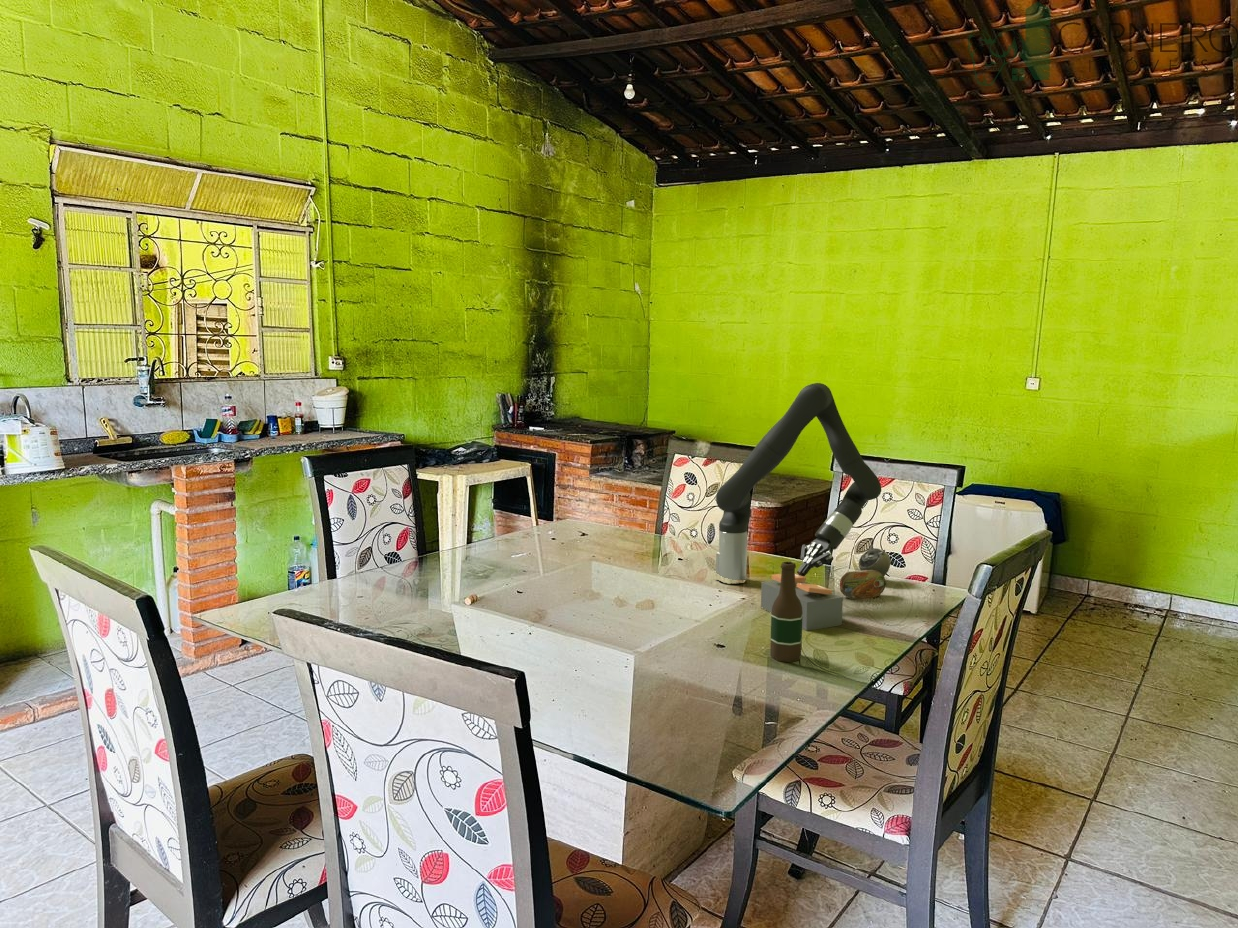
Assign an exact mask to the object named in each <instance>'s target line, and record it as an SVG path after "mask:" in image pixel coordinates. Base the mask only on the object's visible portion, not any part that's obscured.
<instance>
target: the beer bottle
mask: <svg viewBox="0 0 1238 928" xmlns="http://www.w3.org/2000/svg"><path fill="white" fill-rule="evenodd" d="M780 568H781V573H780V574H781V584H780V591H779V595H778V597H777V598H776V599H775V601H774V604H773V606H772V613H770V614H771V615H770V648H769V649H770V657H771V659H774V660H776V661H777V662H784V663H794V662H799V661H800V658H801V656H802V647H803V646H802V643H803V642H802V641H803V629H802V617H803V612H802V605H801V602H800V600H799V598H798V597H797V595H796V590H795V573H796V568H797V566H796V563H795V562H792V561H783V562H781V565H780Z"/></svg>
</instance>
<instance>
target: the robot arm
mask: <svg viewBox="0 0 1238 928" xmlns="http://www.w3.org/2000/svg"><path fill="white" fill-rule="evenodd" d="M835 401H836V400H835V399H834V396H833V393H832V390H831V389H830V387H829V386H828V385H826V384H824V383H821V382H815V383H811V384H808V385H805V386H804V387H803V388H802V389H800V391H799V392H798V394H797V396H796V397H795V398H794V401H793V402H792V404H791V405H790V406H789V408H788V409H787V411H786V412H785V414H783V416H782V417H781V418H780V419H779V420H778V421H777V422H776V423H775V424H774V425H773V426H772V427H771V428H770V429H769V430H768V431H767V432H766V434H765V435H764V436H763V437H762V438H761V440H760V441H759V442H758V443H757V444H756V445H755V447H754V448H753V449H752V451H751V452H750V453H749V455H747V457H746V458H745V460H744V461H743V463H742V464H741V465H740V467H739V468H738V470H736V471H735V473H734V474H732V476H731V477H729V479H727V480H726V481H725V482H724V484H722V485H721V486H720V488H718V490H717V491H716V495H715V502H716V505H717V507H718V508H719V509H720V510H721V511H723V514H722V517H721V519H720V521H719V522H718V551H716V553H715V574H716V573H717V574H719V575H720V576H722V577H724V578H728V579H732V580H745V579H746V580H747V555H748V554H747V552H748V526H749V522H750V519H751V518H750V517H751V501H752V500H751V491H752V489H753V488H754V486H755V485H757V484H758V483H759V482H760V481H761V480H763V479H764V478H765V477H766V476H767V475H768V474H770V473H771V472H772V471H774V470H775V469H776V468H777V467H778V466H779V465H780V464H781V462H782V461H783V460H784V459H785V458H786V456H787V455H788V454H789V453H790V452H791V450H792V449H793V446H795V444H796V441H797V440H798V438H799V436H800V434H801V433H802V432H803V430H805V428H806V427H807V426H808V425H809V424H810V423H811V421H813V420H814V419H815V418H817V419H818V421H819V423H820V424H821V427H822V428H823V431H824V433H825V436H826V438H827V441H828V444H829V447H830V450H831V452H832V455H833V456H834V459H835V460H836V462H837V464H838V466H839V467H840V469H841V471H842V472H843V473H844V475H846V476H849V477H850V478H851V479H852V480H853V482H852V484H850V486H849V488H848V489H847V491H846V493H845V494H844V496H843V498H842V500H841V501H840V503H839V504H837V506H836V508H835V509H834V510H833V512H832V513H830V514H829V516H828V517H827V518H826V519H825V521H823V523H822V524H821V526H820V527H819V528H818V529H817V530H816V532H815V534H814V536H815V538H814V539H813V540H812V541H811V542H810V543H809V544H808V545H806V544H805V543H804V544H802V546H801V552H800V560H801V561H802V564H800V566H799V567H798V569H797V570H796V574H799V575H801V576H804V577H806V576H807V574H808V573H809V572H810V570H811V569H814V568H816V569H818V568H820V567H821V566H823V565H825V564H827V563H829V562H831V561H833V560H834V556H833V555H832V552H833V551H834V550H837V549H838V548H839V546H841V543H842V542H843V541H844V539H845V538H846V537H847V536H848V534H849V533H850V531H851V529H852V528H853V526H854V525H855V524H856V522H857V521H858V520H859V519H860V517H861V515H862V513H863V507H864V506H865V504H867V502H868V501H871V500H875V499H877V498H878V497H879V496H880V495H881V492H882V484H881V482H880V479H879V478H878V476H877V475H876V474H875V473H874V471H873V470H872V469H871V468H870V466H869V465H868V464H867V463H866V462H865V460H864V459H863V457H862V455H861V453H860V451H859V450H858V447H857V446H856V445H855V442H854V440H853V439H852V437H851V435H850V434H849V432H848V429H847V427H846V426H845V424H844V422H843V419H842V417H841V415H840V413H839V410H838V408H837V405H836V402H835Z"/></svg>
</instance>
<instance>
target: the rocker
mask: <svg viewBox="0 0 1238 928" xmlns="http://www.w3.org/2000/svg"><path fill="white" fill-rule="evenodd" d="M806 578H807V577H806V576H801V575H799V574H798V573H797V572H795V582H804V581H805V582H807V581H806ZM771 579H772V580H776V581H778V582H780V583H781V573H777V574H776V573H775V574H771Z"/></svg>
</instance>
